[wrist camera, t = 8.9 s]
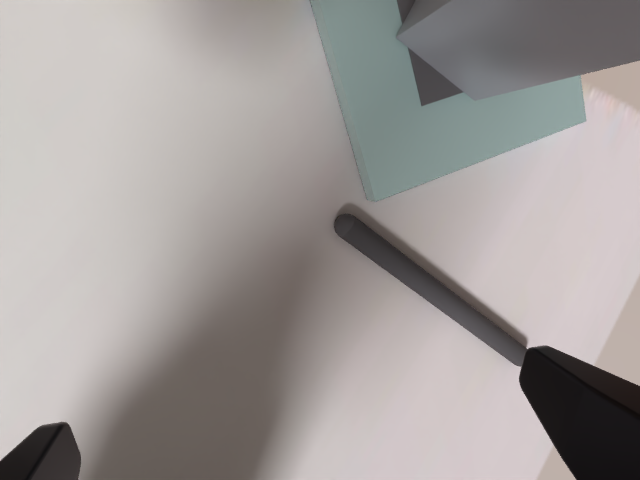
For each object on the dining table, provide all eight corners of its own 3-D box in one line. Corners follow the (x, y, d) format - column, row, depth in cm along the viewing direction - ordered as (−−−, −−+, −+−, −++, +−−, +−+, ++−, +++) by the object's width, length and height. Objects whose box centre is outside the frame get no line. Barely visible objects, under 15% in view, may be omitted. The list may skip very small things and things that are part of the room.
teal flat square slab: (570, 123, 23) (588, 120, 22) (367, 200, 20) (376, 202, 19) (532, -145, 19) (551, -163, 18) (282, -97, 17) (287, -115, 15)
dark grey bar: (523, 348, 25) (539, 356, 24) (513, 364, 25) (528, 373, 24) (340, 207, 20) (348, 210, 19) (326, 227, 20) (334, 231, 19)
